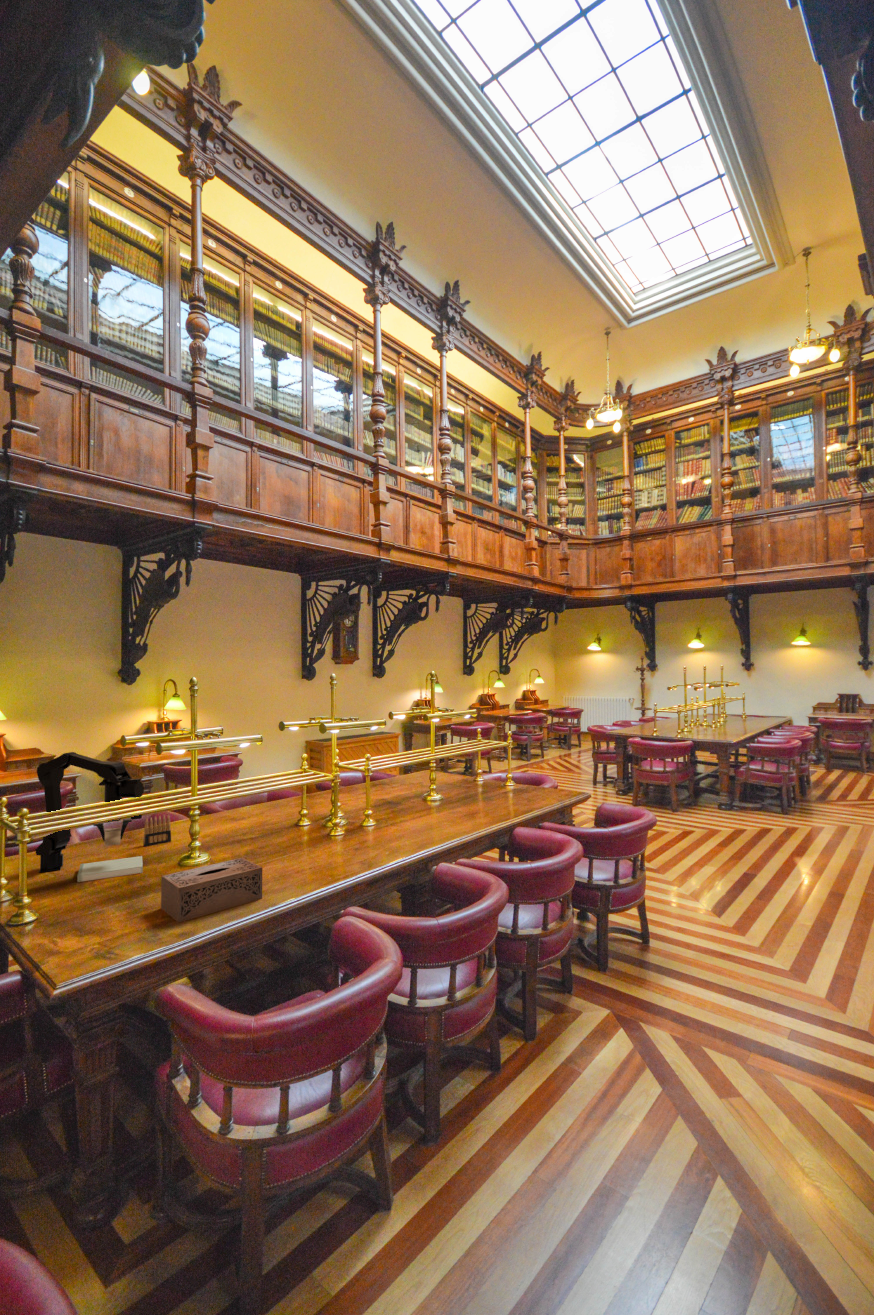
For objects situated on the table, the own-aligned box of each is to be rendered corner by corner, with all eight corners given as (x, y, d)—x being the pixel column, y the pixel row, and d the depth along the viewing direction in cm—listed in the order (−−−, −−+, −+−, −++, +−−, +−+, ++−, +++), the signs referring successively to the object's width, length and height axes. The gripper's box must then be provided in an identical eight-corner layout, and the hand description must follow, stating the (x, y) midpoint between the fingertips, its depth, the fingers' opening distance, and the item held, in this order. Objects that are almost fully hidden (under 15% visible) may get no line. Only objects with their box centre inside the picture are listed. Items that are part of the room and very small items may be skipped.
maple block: (104, 846, 204) (104, 832, 205) (105, 843, 209) (105, 829, 209) (120, 844, 207) (120, 830, 207) (120, 841, 211) (120, 827, 212)
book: (77, 883, 196) (77, 875, 196) (80, 871, 208) (80, 863, 208) (142, 873, 205) (142, 866, 206) (142, 862, 218) (142, 855, 218)
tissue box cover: (241, 887, 191) (242, 857, 191) (262, 899, 180) (262, 867, 181) (160, 909, 173) (161, 876, 173) (178, 923, 162) (178, 888, 163)
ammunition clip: (144, 847, 238) (145, 818, 239) (143, 846, 240) (143, 817, 240) (171, 842, 246) (171, 814, 246) (169, 841, 247) (170, 813, 248)
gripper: (82, 804, 197) (81, 849, 196) (142, 798, 206) (141, 842, 205) (84, 798, 207) (83, 842, 206) (141, 793, 216) (141, 835, 215)
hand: (112, 840), depth 208 cm, fingers closed on maple block, 5 cm apart
